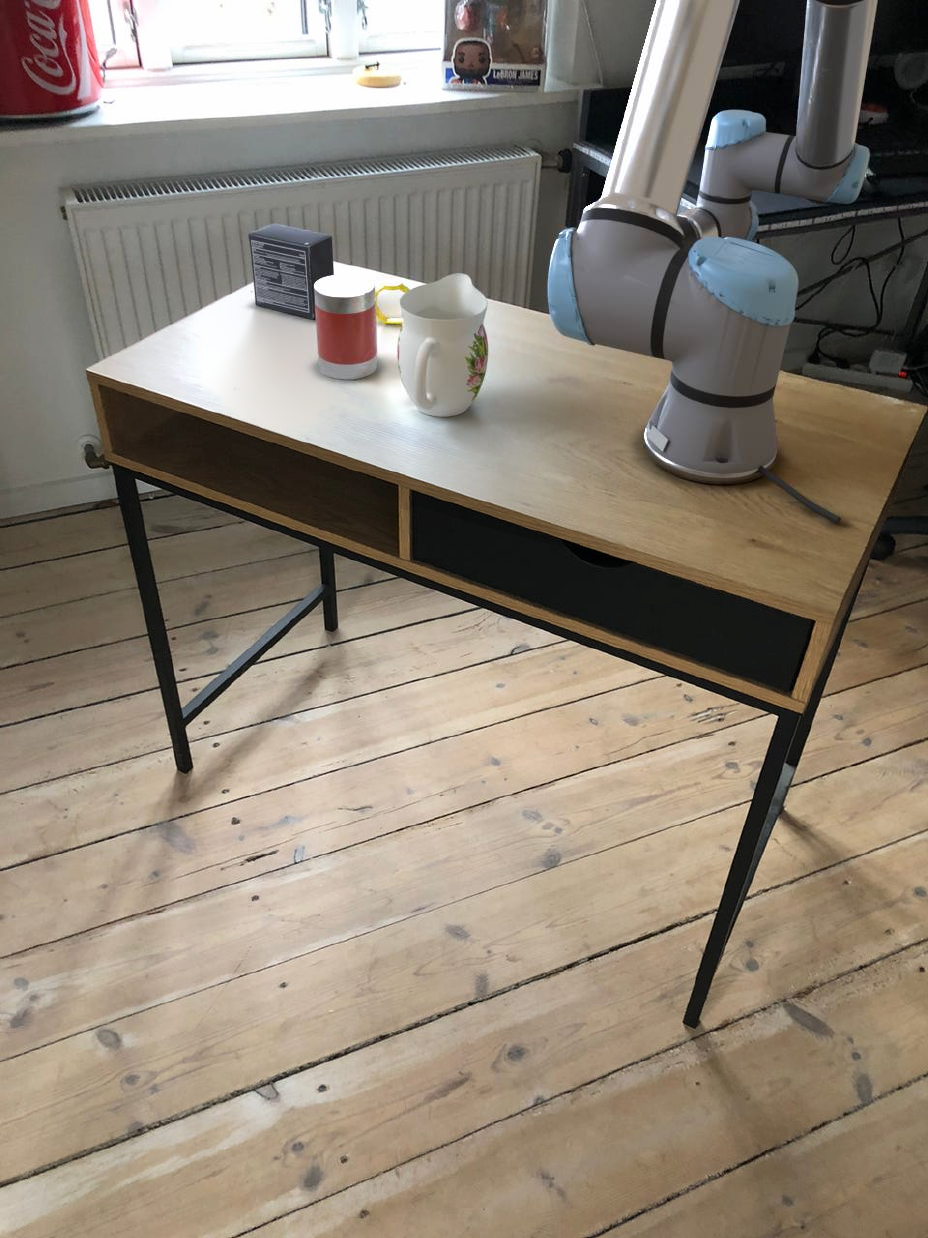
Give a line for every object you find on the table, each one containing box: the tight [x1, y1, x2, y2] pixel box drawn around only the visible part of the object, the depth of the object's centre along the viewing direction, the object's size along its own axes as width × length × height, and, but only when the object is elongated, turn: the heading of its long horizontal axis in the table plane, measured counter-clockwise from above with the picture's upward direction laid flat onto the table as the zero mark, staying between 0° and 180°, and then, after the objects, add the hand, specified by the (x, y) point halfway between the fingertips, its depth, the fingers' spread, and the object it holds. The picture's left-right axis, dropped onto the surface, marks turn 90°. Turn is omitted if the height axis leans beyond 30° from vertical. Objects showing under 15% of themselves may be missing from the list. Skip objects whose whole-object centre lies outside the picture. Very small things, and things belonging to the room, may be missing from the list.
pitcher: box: [396, 272, 489, 418], centre depth 123 cm, size 11×18×14 cm, turn 165°
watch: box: [375, 278, 411, 325], centre depth 145 cm, size 6×3×6 cm, turn 81°
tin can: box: [314, 274, 378, 381], centre depth 132 cm, size 8×8×11 cm
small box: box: [247, 223, 335, 320], centre depth 148 cm, size 11×6×10 cm, turn 62°
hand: (568, 280), depth 133 cm, fingers closed
